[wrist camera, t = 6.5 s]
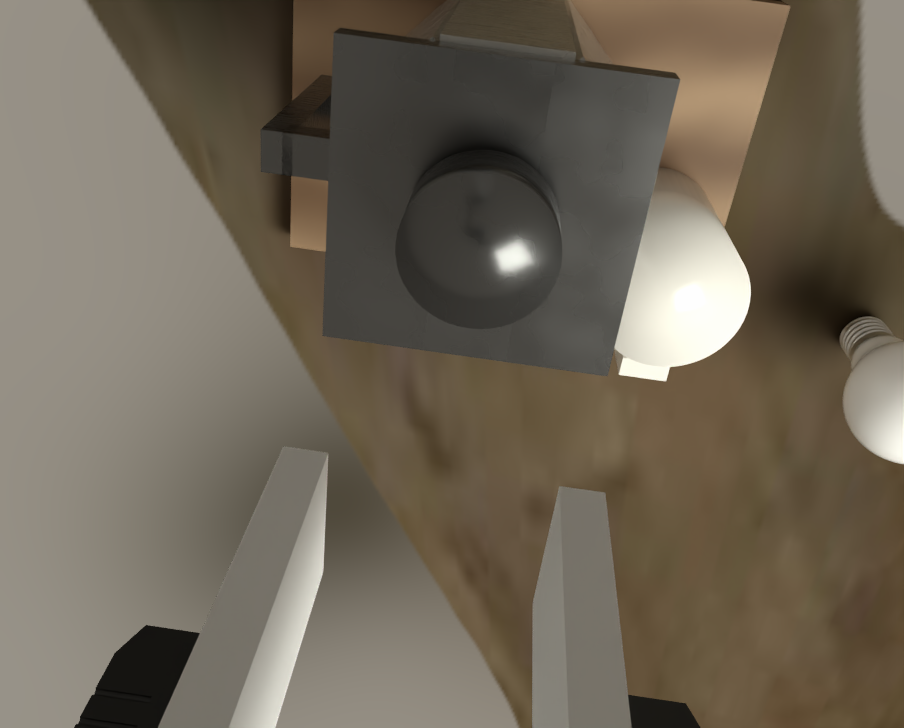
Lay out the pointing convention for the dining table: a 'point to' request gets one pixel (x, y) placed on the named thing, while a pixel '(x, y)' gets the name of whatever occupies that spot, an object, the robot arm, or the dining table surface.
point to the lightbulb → (875, 387)
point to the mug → (680, 284)
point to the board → (626, 43)
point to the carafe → (480, 128)
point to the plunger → (480, 240)
